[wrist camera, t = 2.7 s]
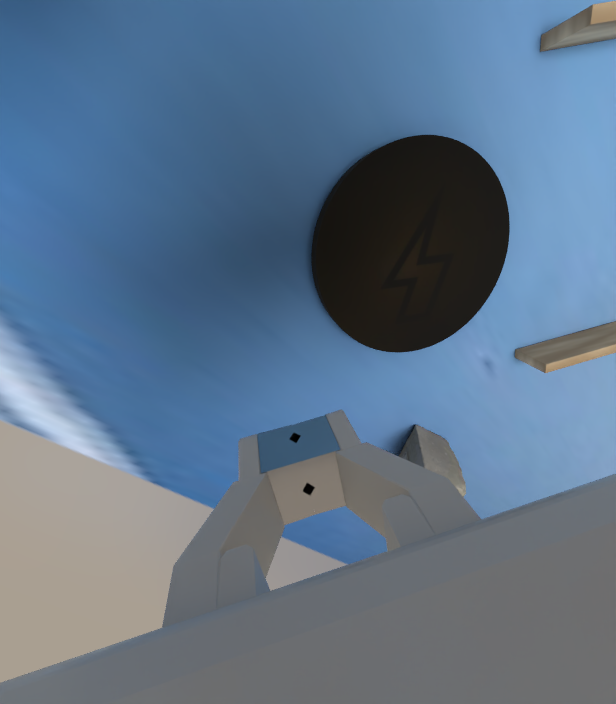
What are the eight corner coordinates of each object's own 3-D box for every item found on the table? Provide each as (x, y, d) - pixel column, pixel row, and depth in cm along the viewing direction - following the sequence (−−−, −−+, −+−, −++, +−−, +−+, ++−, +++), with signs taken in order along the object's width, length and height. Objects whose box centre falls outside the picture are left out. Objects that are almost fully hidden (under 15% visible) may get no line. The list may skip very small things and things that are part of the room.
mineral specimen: (393, 420, 36) (448, 471, 29) (442, 428, 40) (499, 474, 34) (364, 473, 38) (409, 533, 31) (414, 475, 42) (463, 528, 35)
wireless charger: (488, 111, 27) (506, 104, 25) (497, 310, 34) (511, 315, 32) (283, 179, 26) (286, 176, 24) (339, 369, 33) (345, 378, 31)
